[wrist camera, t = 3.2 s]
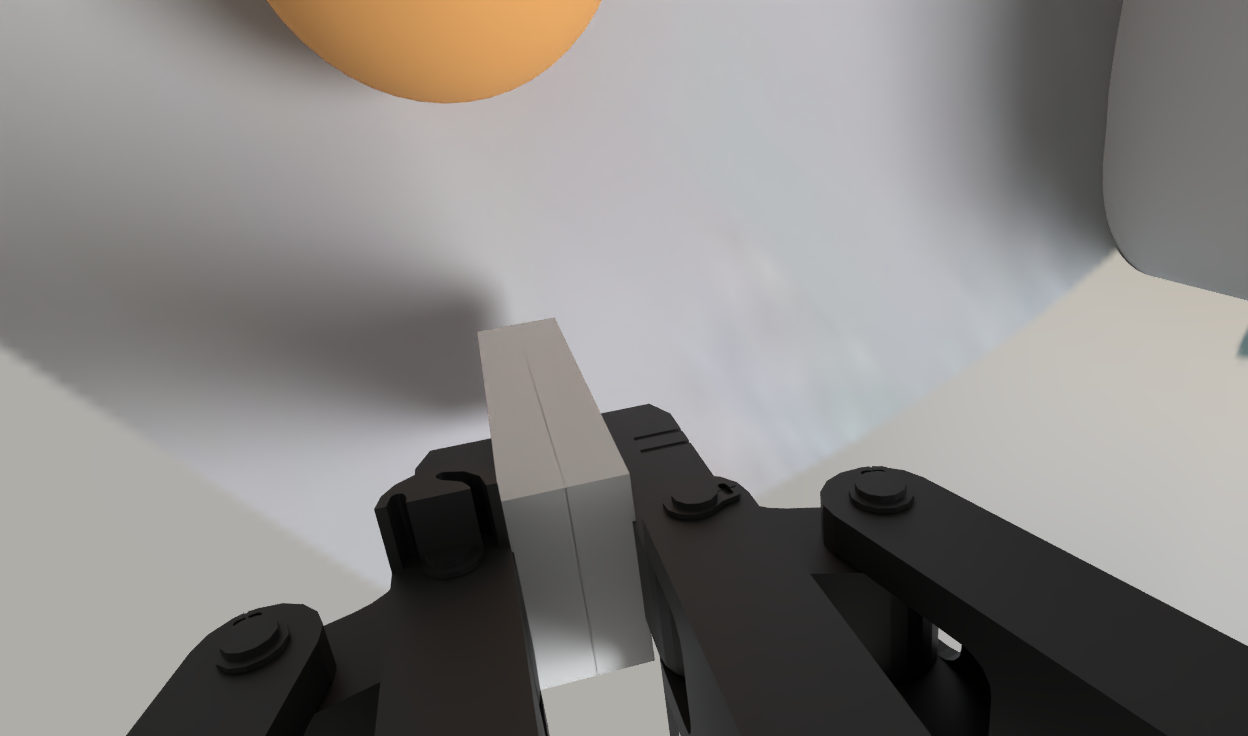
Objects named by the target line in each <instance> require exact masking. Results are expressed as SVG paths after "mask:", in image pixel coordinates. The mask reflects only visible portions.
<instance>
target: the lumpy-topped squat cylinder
mask: <svg viewBox="0 0 1248 736" xmlns="http://www.w3.org/2000/svg"><path fill="white" fill-rule="evenodd" d="M1103 198H1104V206H1105V212H1106V217H1107V221H1108V225H1109V228H1110V231H1111V233H1112V236H1113V238H1114V240H1115V242H1116V244H1117V246H1118V248H1119V250H1118V252H1119V253H1120V254H1121V256H1122V257H1123V258H1124V259H1125V260H1126V262H1127V263H1129V264H1130V265H1131V266H1132V267H1133V268H1135V269H1136V270H1138V271H1140V272H1142V273H1144V274H1147V275H1150V276H1154V277H1158V278H1162V279H1166V280H1170V281H1174V282H1178V283H1182V284H1185V285H1189V286H1193V287H1197V288H1201V289H1205V290H1209V291H1213V292H1217V293H1221V294H1225V295H1229V296H1233V297H1236V298H1240V299H1244V300H1248V0H1123V5H1122V10H1121V15H1120V21H1119V26H1118V32H1117V38H1116V44H1115V50H1114V57H1113V64H1112V71H1111V78H1110V86H1109V96H1108V110H1107V126H1106V136H1105V146H1104V157H1103Z"/></svg>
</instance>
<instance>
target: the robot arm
mask: <svg viewBox="0 0 1248 736" xmlns="http://www.w3.org/2000/svg"><path fill="white" fill-rule="evenodd" d="M477 333H478V341H479V349H480V356H481V364H482V372H483V379H484V387H485V395H486V402H487V410H488V418H489V425H490V433H491V439H486V440H481V441H476V442H471V443H466V444H461V445H456V446H452V447H447V448H442V449H437V450H432V451H430V452H429V453H428V454H427V455H426V457H425V458H424V459H423V460H422V462H421V463H420V464H419V465H418V466H417V468H416V469H415V475H414V476H412V477H410V478H408V479H406V480H404V481H402V482H400V483H398V484H396V485H394V486H393V487H392V488H391V489H390V490H388V491H387V492H386V493H385V494H384V495H382V496H381V497H380V499H379V501H378V503H377V505H376V507H375V509H374V510H375V514H376V518H377V521H378V525H379V528H380V532H381V535H382V539H383V543H384V546H385V550H386V553H387V557H388V560H389V564H390V568H391V571H392V579H391V588H390V590H389V591H388V592H387V593H386V594H384V595H383V596H382V597H380V598H379V599H377V600H376V601H374V602H373V603H372V604H370V605H368V606H366V607H364V608H362V609H360V610H359V611H356V612H354V613H352V614H350V615H348V616H345V617H343V618H341V619H339V620H336V621H334V622H332V623H329V624H327V625H325V626H323V623H322V621H321V618H320V616H319V614H318V612H317V611H315V610H313V609H311V608H309V607H308V606H305V605H304V604H285V603H282V604H277V605H272V606H267V607H262V608H258V609H255V610H252V611H249V612H248V613H246V614H241V615H239V616H237V617H235V618H233V619H231V620H230V621H228V622H227V623H225V624H224V625H222V626H221V627H219V628H217V629H216V630H214V631H213V632H211V633H210V634H208V635H207V636H206V637H205V638H204V639H203V640H202V641H201V642H200V643H199V644H198V645H197V646H196V647H195V648H194V649H193V650H192V651H191V652H190V653H189V655H188V656H187V657H186V658H185V660H184V661H183V662H182V664H181V665H180V666H179V668H178V669H177V670H176V671H175V673H174V674H173V675H172V677H171V678H170V679H169V681H168V682H167V683H166V685H165V686H164V687H163V688H162V690H161V691H160V692H159V694H158V695H157V696H156V697H155V699H154V700H153V701H152V703H151V704H150V705H149V707H148V708H147V709H146V710H145V712H144V713H143V714H142V716H141V717H140V718H139V720H138V721H137V722H136V724H135V725H134V726H133V728H132V729H131V730H130V731H129V733H128V734H127V735H126V736H549V731H548V724H547V719H546V714H545V709H544V704H543V700H542V695H541V690H542V689H546V688H550V687H553V686H558V685H561V684H565V683H569V682H573V681H577V680H581V679H585V678H588V677H592V676H596V675H600V674H604V673H608V672H611V671H615V670H619V669H623V668H627V667H631V666H635V665H639V664H642V663H646V662H650V661H654V651H653V644H652V637H653V639H654V642H655V644H656V647H657V650H658V652H659V655H660V662H661V669H662V677H663V685H664V692H665V700H666V707H667V714H668V722H669V730H670V736H679V733H680V735H681V736H1248V646H1246V645H1244V644H1242V643H1241V642H1239V641H1237V640H1235V639H1233V638H1231V637H1229V636H1227V635H1225V634H1223V633H1221V632H1219V631H1218V630H1216V629H1214V628H1212V627H1210V626H1208V625H1206V624H1204V623H1202V622H1200V621H1198V620H1196V619H1194V618H1192V617H1191V616H1189V615H1187V614H1185V613H1183V612H1181V611H1179V610H1177V609H1175V608H1173V607H1171V606H1169V605H1168V604H1166V603H1164V602H1162V601H1160V600H1158V599H1156V598H1154V597H1152V596H1150V595H1148V594H1146V593H1145V592H1142V591H1141V590H1139V589H1137V588H1135V587H1133V586H1131V585H1129V584H1127V583H1125V582H1123V581H1121V580H1119V579H1118V578H1116V577H1114V576H1112V575H1110V574H1108V573H1106V572H1104V571H1102V570H1100V569H1098V568H1096V567H1095V566H1093V565H1091V564H1089V563H1087V562H1085V561H1083V560H1081V559H1079V558H1077V557H1075V556H1073V555H1072V554H1070V553H1067V552H1066V551H1064V550H1062V549H1060V548H1058V547H1056V546H1054V545H1052V544H1050V543H1048V542H1047V541H1044V540H1043V539H1041V538H1039V537H1037V536H1035V535H1033V534H1031V533H1029V532H1027V531H1025V530H1023V529H1021V528H1020V527H1018V526H1016V525H1014V524H1012V523H1010V522H1008V521H1006V520H1004V519H1002V518H1000V517H998V516H997V515H995V514H993V513H991V512H989V511H987V510H985V509H983V508H981V507H979V506H977V505H975V504H974V503H972V502H970V501H968V500H966V499H964V498H962V497H960V496H958V495H956V494H954V493H952V492H950V491H949V490H947V489H945V488H943V487H941V486H939V485H937V484H935V483H933V482H931V481H929V480H927V479H926V478H924V477H921V476H918V475H915V474H913V473H910V472H907V471H905V470H898V469H891V468H887V467H883V466H872V467H861V468H857V469H854V470H850V471H846V472H842V473H839V474H838V475H836V476H834V477H833V478H831V479H829V480H828V481H827V482H826V483H825V485H824V487H823V488H822V490H821V492H820V496H821V508H791V509H784V508H783V509H782V508H780V509H779V508H766V507H761V506H759V505H758V504H757V503H756V501H755V500H754V499H753V497H752V496H751V495H750V493H749V492H748V491H747V490H746V489H744V488H743V487H742V486H741V485H739V484H738V483H737V482H734V481H731V480H728V479H725V478H722V477H717V476H713V474H712V473H711V471H710V470H709V469H708V467H707V466H706V464H705V463H704V461H703V460H702V459H701V457H700V456H699V454H698V453H697V451H696V450H695V448H694V447H693V446H692V444H691V443H689V440H688V438H687V437H686V436H685V434H684V433H683V431H681V429H680V427H679V426H678V424H677V423H676V421H675V420H674V418H673V417H672V415H671V414H670V413H668V412H666V411H663V410H661V409H659V408H657V407H655V406H653V405H651V404H646V405H641V406H636V407H631V408H626V409H621V410H616V411H611V412H607V413H602V414H601V413H600V411H599V409H598V407H597V405H596V403H595V401H594V399H593V397H592V395H591V392H590V390H589V388H588V386H587V384H586V382H585V380H584V378H583V376H582V374H581V372H580V370H579V367H578V365H577V363H576V361H575V359H574V357H573V355H572V353H571V351H570V349H569V347H568V345H567V343H566V340H565V338H564V336H563V334H562V332H561V330H560V328H559V326H558V324H557V322H556V320H555V318H550V319H544V320H539V321H533V322H528V323H522V324H517V325H511V326H506V327H500V328H495V329H489V330H484V331H478V332H477ZM938 628H940V629H941V630H942V631H944V632H945V633H947V634H948V635H949V636H951V637H952V638H953V639H955V640H956V641H958V642H959V643H960V644H962V649H961V652H958V651H956V650H954V649H952V648H950V647H949V646H947V645H946V644H945V643H943V642H942V641H941V640H939V639H938ZM651 634H652V636H651Z"/></svg>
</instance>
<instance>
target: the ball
mask: <svg viewBox="0 0 1248 736" xmlns="http://www.w3.org/2000/svg"><path fill="white" fill-rule="evenodd" d="M267 2H268V3H269V4H270V5H271V7H272V8H273V9H274V11H275V12H276V13H277V15H278V16H279V17H280V19H281V20H282V21H283V22H284V23H285V24H286V25H287V26H288V27H289V28H290V29H291V30H292V31H293V32H294V33H295V35H296V36H297V37H298V38H299V39H300V40H301V41H302V42H303V43H304V44H306V45H307V46H308V47H309V48H310V49H312V50H313V51H314V52H315V53H316V54H318V55H319V56H320V57H321V58H322V59H324V60H325V61H326V62H328V63H329V64H331V65H332V66H334V67H335V68H337V69H338V70H340V71H341V72H343V73H344V74H346V75H347V76H349V77H351V78H353V79H355V80H357V81H359V82H361V83H363V84H365V85H367V86H369V87H371V88H374V89H377V90H379V91H382V92H385V93H388V94H391V95H394V96H397V97H402V98H406V99H411V100H416V101H421V102H433V103H460V102H470V101H476V100H481V99H486V98H491V97H493V96H496V95H499V94H502V93H505V92H508V91H511V90H513V89H515V88H517V87H519V86H521V85H523V84H525V83H527V82H529V81H531V80H532V79H534V78H535V77H537V76H538V75H539V74H541V73H542V72H544V71H545V70H546V69H548V68H549V67H551V66H552V65H553V64H554V63H555V62H556V61H557V60H558V59H559V58H560V57H561V56H562V55H563V54H565V53H566V52H567V51H568V50H569V49H570V47H571V46H572V45H573V44H574V42H575V41H576V40H577V39H578V38H579V36H580V35H581V34H582V33H583V31H584V30H585V29H586V27H587V25H588V24H589V22H590V21H591V19H592V17H593V16H594V14H595V12H596V11H597V9H598V7H599V5H600V3H601V0H267Z"/></svg>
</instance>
